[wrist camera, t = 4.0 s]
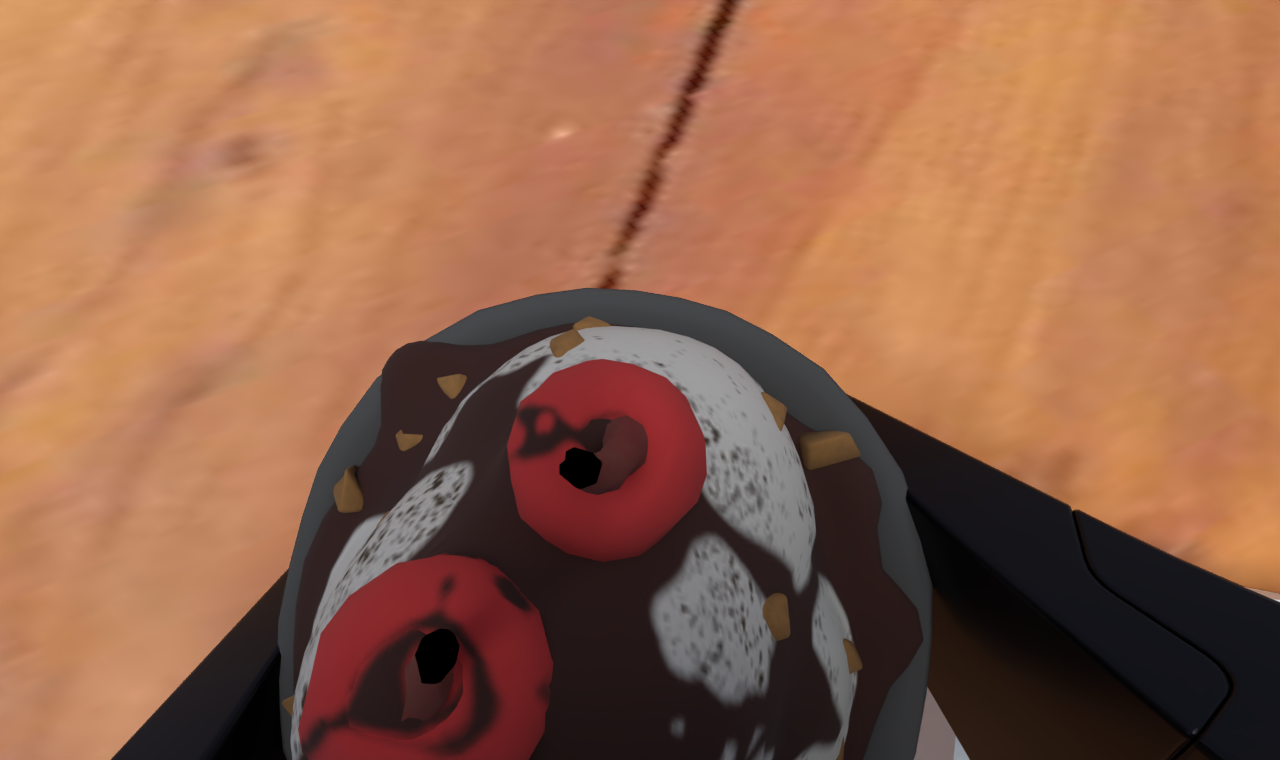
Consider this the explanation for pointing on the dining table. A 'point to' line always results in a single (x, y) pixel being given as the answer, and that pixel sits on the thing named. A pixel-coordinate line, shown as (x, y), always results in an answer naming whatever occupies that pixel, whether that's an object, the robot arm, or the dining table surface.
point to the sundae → (605, 551)
